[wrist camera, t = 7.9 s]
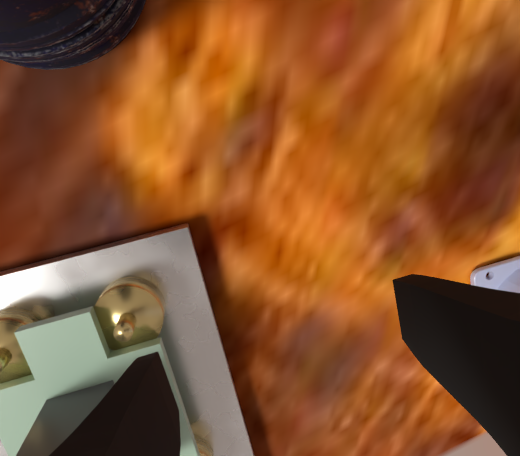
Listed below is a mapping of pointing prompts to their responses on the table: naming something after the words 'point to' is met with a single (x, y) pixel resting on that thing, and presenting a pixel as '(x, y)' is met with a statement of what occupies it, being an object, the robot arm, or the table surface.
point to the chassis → (137, 321)
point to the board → (69, 383)
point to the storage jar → (63, 30)
